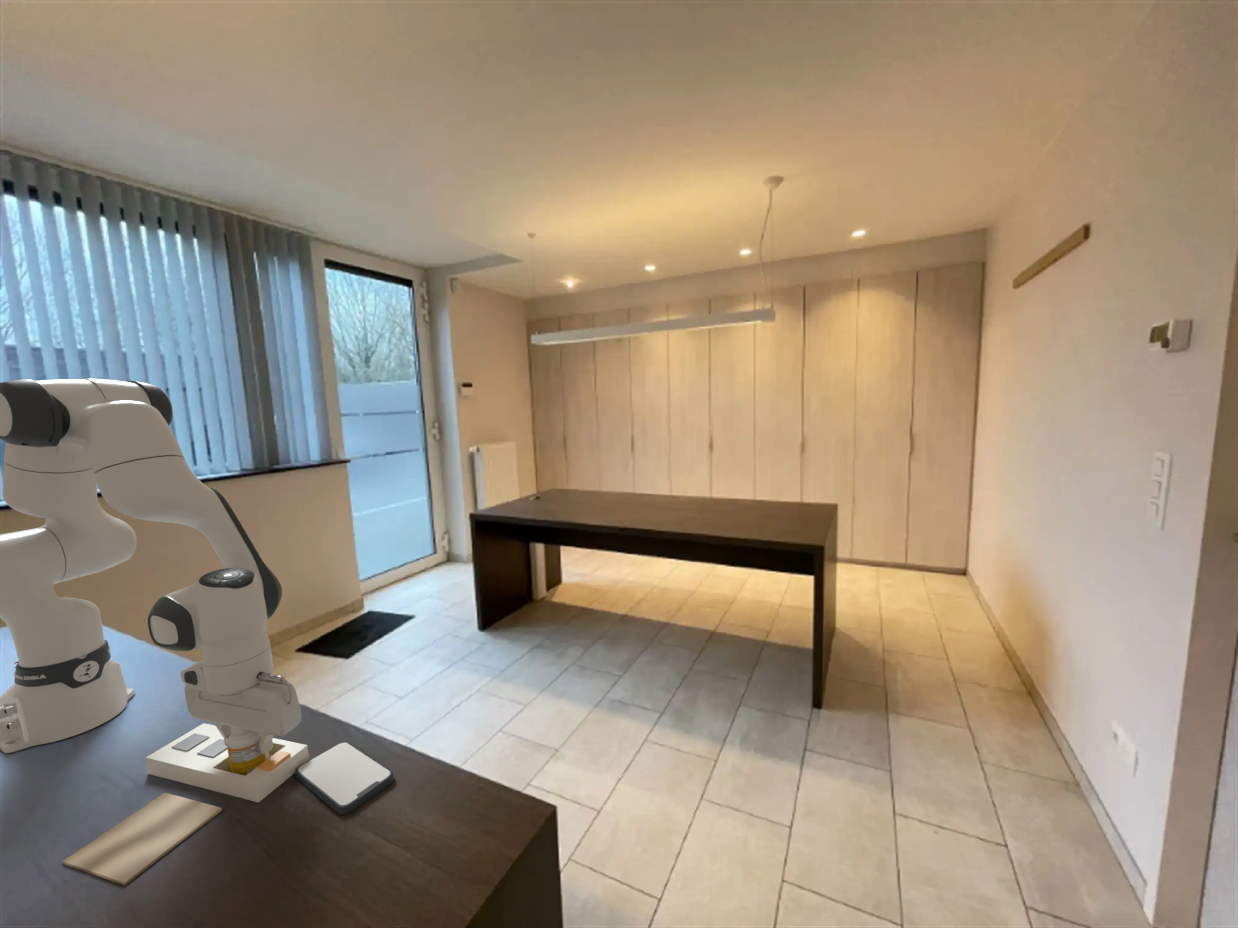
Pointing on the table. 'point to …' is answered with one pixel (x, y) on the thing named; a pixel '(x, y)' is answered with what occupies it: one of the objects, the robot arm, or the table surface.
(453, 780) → the table surface
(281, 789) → the table surface
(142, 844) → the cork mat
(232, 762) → the supplement bottle
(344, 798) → the phone case
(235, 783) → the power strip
